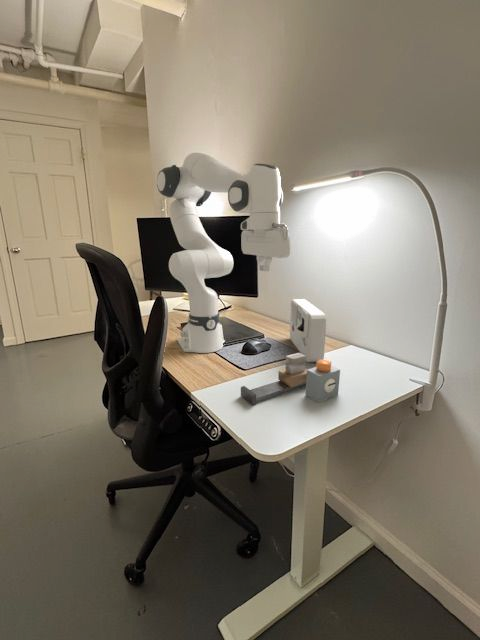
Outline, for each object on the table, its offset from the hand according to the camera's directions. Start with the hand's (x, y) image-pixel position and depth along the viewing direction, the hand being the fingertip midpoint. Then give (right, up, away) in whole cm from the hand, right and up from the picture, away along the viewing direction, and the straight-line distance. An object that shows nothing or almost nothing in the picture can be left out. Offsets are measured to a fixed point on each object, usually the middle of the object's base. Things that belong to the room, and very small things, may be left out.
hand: (264, 270), depth 100 cm
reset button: (+16, -29, -7) cm, 34 cm away
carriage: (+9, -33, +1) cm, 35 cm away
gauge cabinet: (+16, -37, -5) cm, 40 cm away
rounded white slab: (+18, -27, +30) cm, 45 cm away
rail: (+5, -36, -1) cm, 36 cm away
